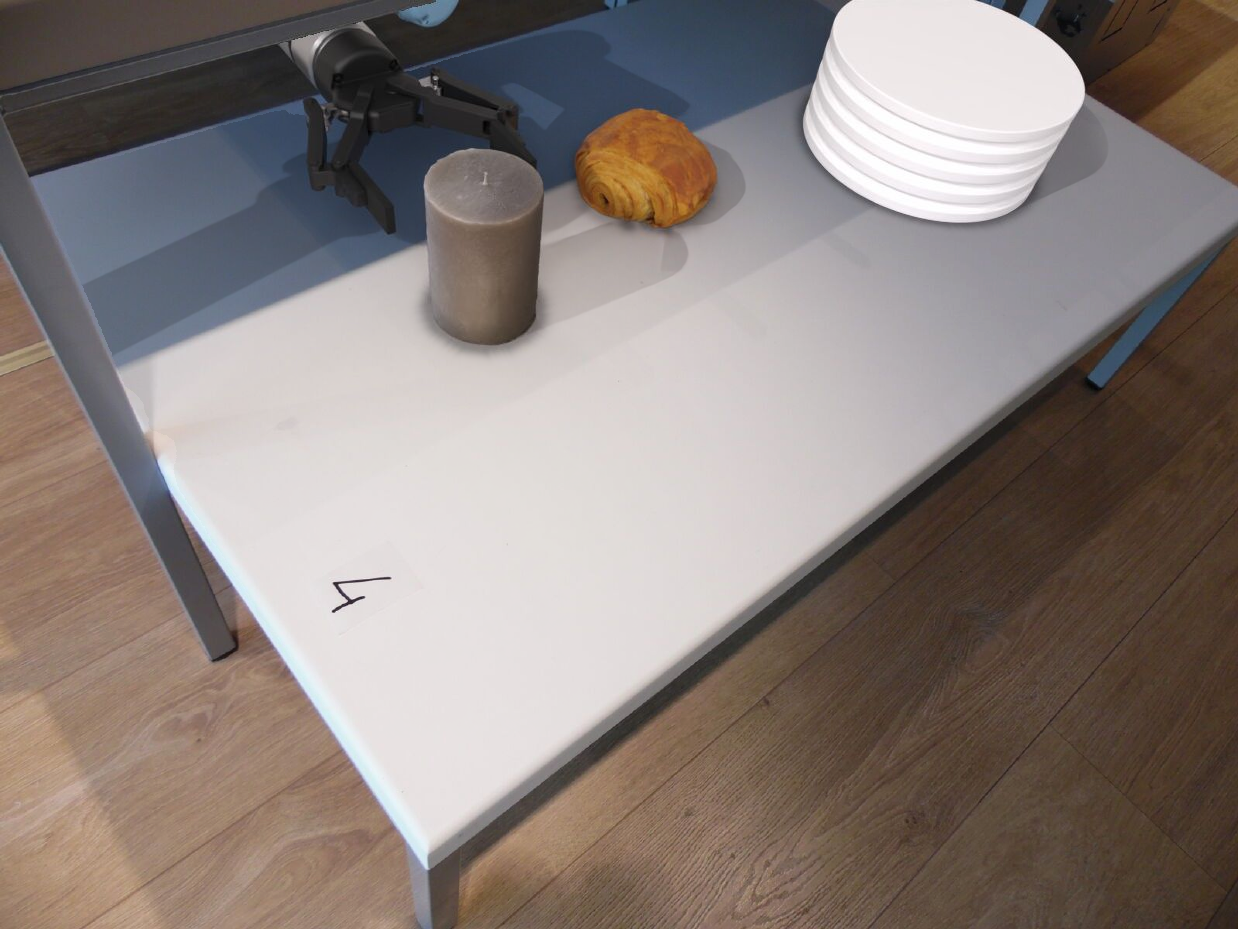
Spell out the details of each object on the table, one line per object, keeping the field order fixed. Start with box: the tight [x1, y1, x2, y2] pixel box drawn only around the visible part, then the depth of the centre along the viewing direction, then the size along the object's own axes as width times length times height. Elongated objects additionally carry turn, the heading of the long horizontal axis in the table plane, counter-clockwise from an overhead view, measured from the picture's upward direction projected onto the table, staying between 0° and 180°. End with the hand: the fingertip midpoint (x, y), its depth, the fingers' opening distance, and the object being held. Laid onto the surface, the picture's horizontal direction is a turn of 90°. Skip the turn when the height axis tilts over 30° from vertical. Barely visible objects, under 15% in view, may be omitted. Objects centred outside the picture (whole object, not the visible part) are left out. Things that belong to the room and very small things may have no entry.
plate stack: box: [802, 0, 1086, 224], centre depth 104 cm, size 28×28×12 cm
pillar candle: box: [423, 147, 545, 346], centre depth 78 cm, size 10×10×15 cm
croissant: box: [573, 107, 718, 229], centre depth 95 cm, size 14×16×8 cm
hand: (464, 196), depth 77 cm, fingers open, 13 cm apart
